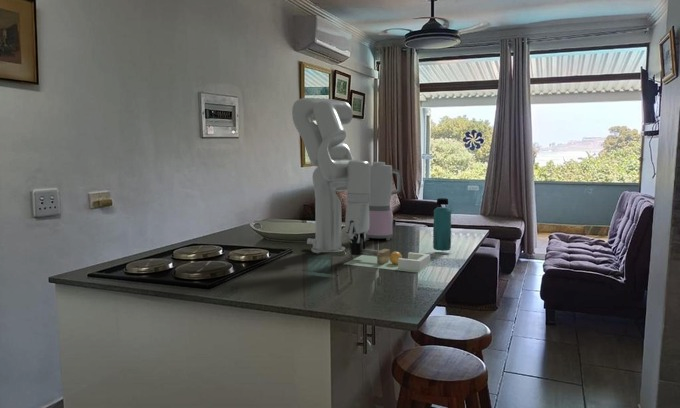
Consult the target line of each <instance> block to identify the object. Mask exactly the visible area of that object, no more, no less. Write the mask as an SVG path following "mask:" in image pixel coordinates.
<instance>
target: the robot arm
mask: <svg viewBox="0 0 680 408" xmlns="http://www.w3.org/2000/svg"><path fill="white" fill-rule="evenodd" d="M291 116H292V121H293V124H294V127H295V128H296V130H297V132H298V134H299V135H300V137H301V139H302V141H303V144H304V145H303V146H304V147H305V151H306V153H307V156H308V159H309V161H310V163H311V165H312V166H314V167H316V168H315V169H314V171H313V172H312V184H313V190H314V202H315V204H314V205H315V207H314V208H315V238H310V237H309V238H307V239H306V244H307V245H311V246H312V247H311V252H312V253H314V254H320V253H338V252H343V251H345V250H346V247H345V246H343V245H342V210H343V209H342V202H341V199H340V197H339V196H338V194H337V193H336V192H345V191H346V197H347V198H346V204H347V205H346V209H345V210H346V211H345V224H344V232H345V233H346V234H348V235H347V236H348V238H349V240H350V254H351V255H353V256H361V243H359V242H360V238H362V239H363V249H366V241H367V240H366V233H367V232H368V230H369V225H370V215H369V203H370V165H371V164H370V162H369V161H366V160H358V159H354V156H353V154H352V151H351V149H350V147H349V145H347V144H346V143H345V142H344V141H345V140H346V137H347V133H346V130H345V127H344V125H348V124H350V123H351V122H352V120H353V116H354V114H353V109H352V106H351V105H350V104H349V102H347V101H344V100H339V99H334V98H333V99H332V98H318V97H317V98H315V97H303V98H299V99H297V100H295V102H293V104H292V109H291ZM314 121H315V122H314Z"/></svg>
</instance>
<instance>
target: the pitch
mask: <svg viewBox="0 0 680 408" xmlns="http://www.w3.org/2000/svg"><path fill="white" fill-rule="evenodd" d="M433 263H434V262H432V261H430V264H429V265H428V266H426V267H425V268H423V269H422V270H421V271H415V270H406V269H398V264H393V263H392V262H391V261H390V260H389V261H387V262H386V263H384V264H379V263H377V255H368V254H362V255H358V256H356V257H355V258H353V259H351V260H349V261H348V262H347V261H346V262H344V263H343V265H350V266H357V267H364V268H365V267H366V268H375V269H384V270H392V271H400V272H407V273H408V272H409V273H418V274H419V273H421V272H422V271H423V270H425V269H427V267H429V266H430V265H431V264H433Z"/></svg>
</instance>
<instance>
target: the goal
mask: <svg viewBox="0 0 680 408" xmlns="http://www.w3.org/2000/svg"><path fill="white" fill-rule="evenodd" d="M430 262H431V254H430V253H420V252H411V251H410V252H408V253H407V258H403V257H402V258H399V259H398V269H406V270H415V271H421V270H422V269H423V268H425V267H426V266H427V267H429V266H430V265H431V264H430ZM429 264H430V265H429ZM428 265H429V266H428ZM427 267H426V268H427ZM426 268H425V269H426ZM423 270H424V269H423ZM423 270H422V271H423ZM422 271H421V272H422Z"/></svg>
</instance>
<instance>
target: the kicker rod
mask: <svg viewBox="0 0 680 408" xmlns="http://www.w3.org/2000/svg"><path fill="white" fill-rule="evenodd" d="M359 243H361V255H368V256H376V257H377V263H379V264H384V263H386V262H387V261H389V260H390V254H391V248H390V249H388V248H383V249H380V250H376V249H368V248H367V249H366V248H365V249H363V239H362V238H360V242H359ZM361 255H360V256H361Z"/></svg>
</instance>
